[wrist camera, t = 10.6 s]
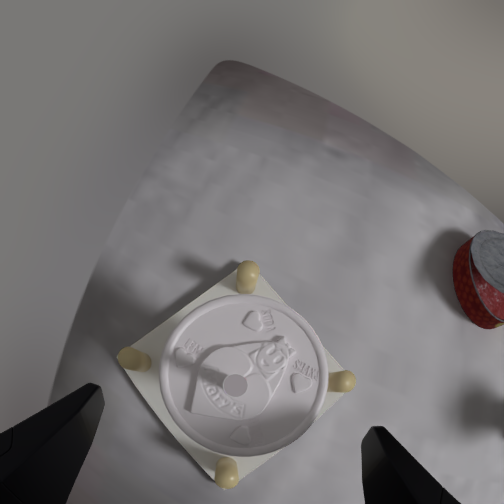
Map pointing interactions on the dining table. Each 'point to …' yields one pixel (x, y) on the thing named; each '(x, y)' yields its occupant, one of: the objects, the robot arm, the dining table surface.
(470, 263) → the canned food
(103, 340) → the dining table surface
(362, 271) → the dining table surface
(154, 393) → the pin plate
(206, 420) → the smoothie
